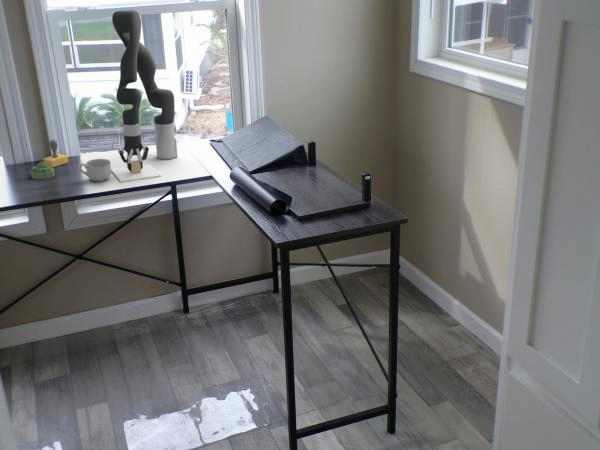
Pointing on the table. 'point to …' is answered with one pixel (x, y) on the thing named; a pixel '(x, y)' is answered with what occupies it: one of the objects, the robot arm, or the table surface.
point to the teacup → (97, 169)
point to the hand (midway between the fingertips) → (135, 169)
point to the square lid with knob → (135, 172)
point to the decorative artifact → (42, 171)
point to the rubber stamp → (55, 156)
